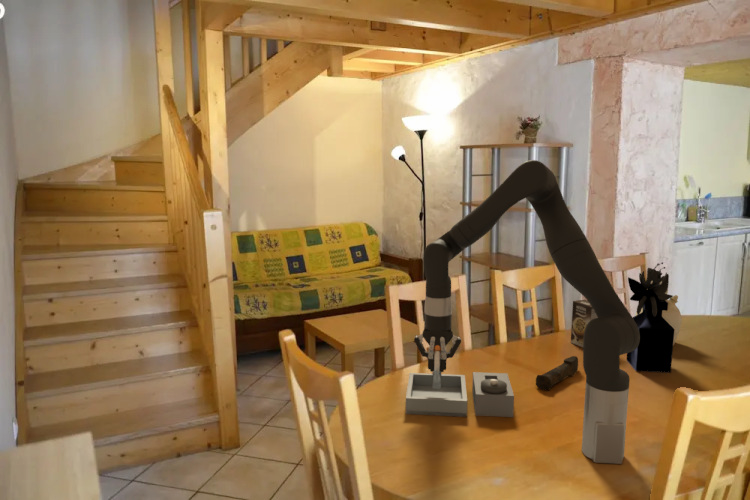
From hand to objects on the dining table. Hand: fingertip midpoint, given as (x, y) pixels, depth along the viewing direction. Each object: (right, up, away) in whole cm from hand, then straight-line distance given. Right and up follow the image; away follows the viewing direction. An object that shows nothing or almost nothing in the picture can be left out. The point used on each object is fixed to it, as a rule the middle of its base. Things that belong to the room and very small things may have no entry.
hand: (437, 370), depth 162 cm
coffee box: (+60, -1, +49) cm, 78 cm away
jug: (+87, -1, +52) cm, 102 cm away
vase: (+73, -5, +28) cm, 78 cm away
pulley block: (+15, -9, 0) cm, 18 cm away
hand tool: (+40, -7, +17) cm, 44 cm away
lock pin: (0, -5, +1) cm, 5 cm away
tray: (0, -9, +1) cm, 9 cm away
